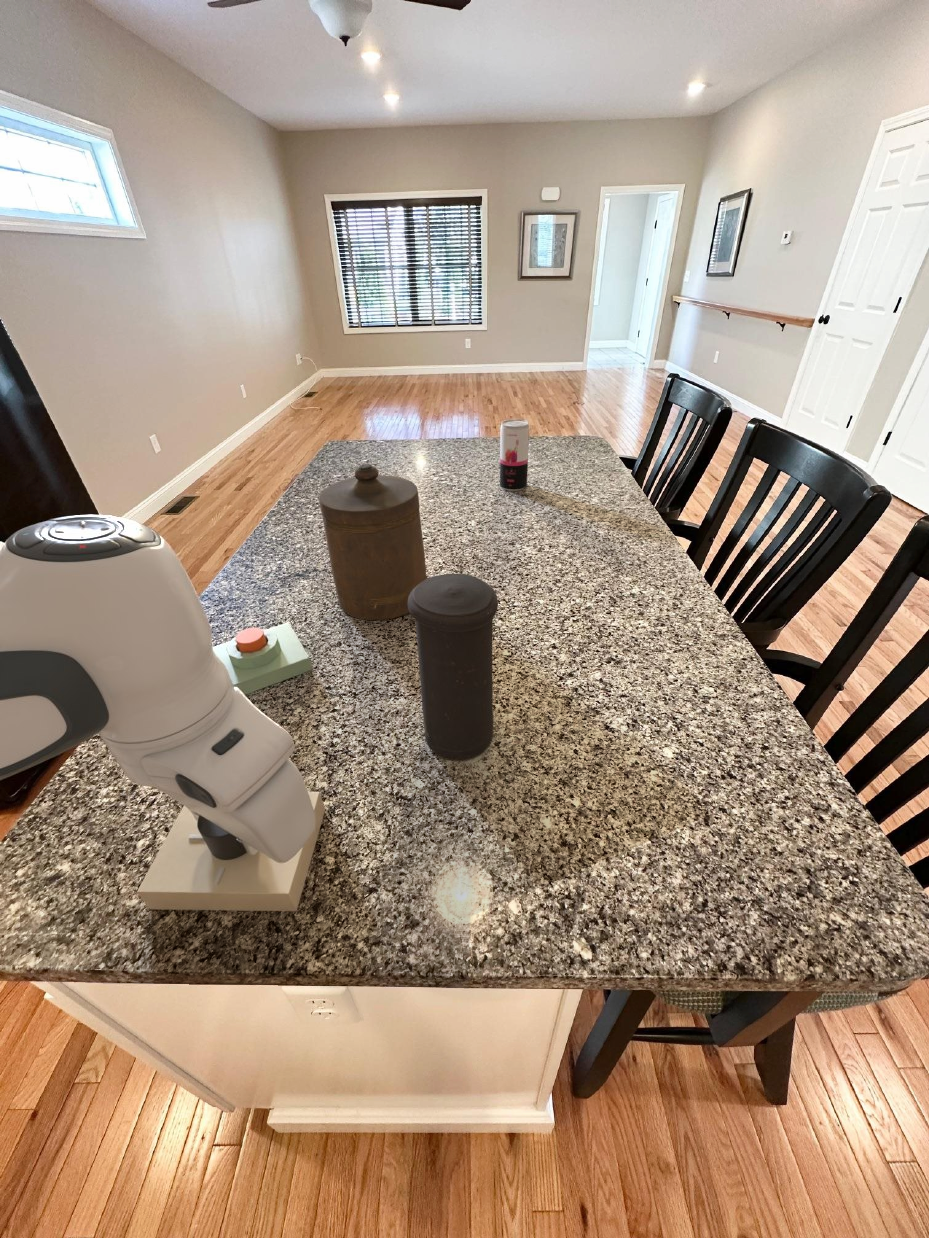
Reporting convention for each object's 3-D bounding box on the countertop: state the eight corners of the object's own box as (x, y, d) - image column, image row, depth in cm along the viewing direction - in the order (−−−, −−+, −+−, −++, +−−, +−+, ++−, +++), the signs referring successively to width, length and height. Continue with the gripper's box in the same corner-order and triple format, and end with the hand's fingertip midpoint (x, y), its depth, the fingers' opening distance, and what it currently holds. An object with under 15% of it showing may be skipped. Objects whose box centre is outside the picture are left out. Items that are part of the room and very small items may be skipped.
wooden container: (393, 565, 94) (378, 444, 82) (445, 595, 85) (438, 465, 73) (321, 595, 86) (292, 467, 74) (371, 633, 77) (347, 493, 65)
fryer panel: (150, 909, 45) (135, 890, 43) (201, 809, 53) (190, 789, 51) (296, 911, 44) (288, 892, 42) (325, 809, 52) (319, 790, 51)
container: (478, 698, 65) (476, 559, 54) (509, 750, 58) (513, 602, 47) (413, 718, 63) (396, 576, 51) (436, 773, 56) (422, 624, 44)
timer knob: (250, 860, 45) (238, 835, 43) (201, 860, 45) (186, 835, 43) (267, 816, 49) (256, 790, 46) (221, 815, 49) (209, 790, 47)
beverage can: (513, 493, 121) (515, 428, 113) (494, 486, 125) (494, 423, 117) (532, 486, 125) (535, 422, 116) (512, 479, 129) (514, 417, 120)
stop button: (242, 657, 68) (238, 646, 67) (236, 643, 70) (232, 632, 69) (269, 647, 69) (266, 637, 68) (263, 634, 72) (259, 624, 71)
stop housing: (221, 703, 66) (211, 680, 63) (208, 661, 73) (199, 639, 70) (312, 669, 71) (306, 647, 68) (292, 633, 78) (286, 612, 75)
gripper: (57, 706, 40) (129, 812, 48) (239, 812, 32) (289, 918, 40) (133, 660, 45) (186, 764, 53) (309, 742, 37) (342, 851, 44)
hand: (232, 831), depth 46 cm, fingers closed on timer knob, 4 cm apart
